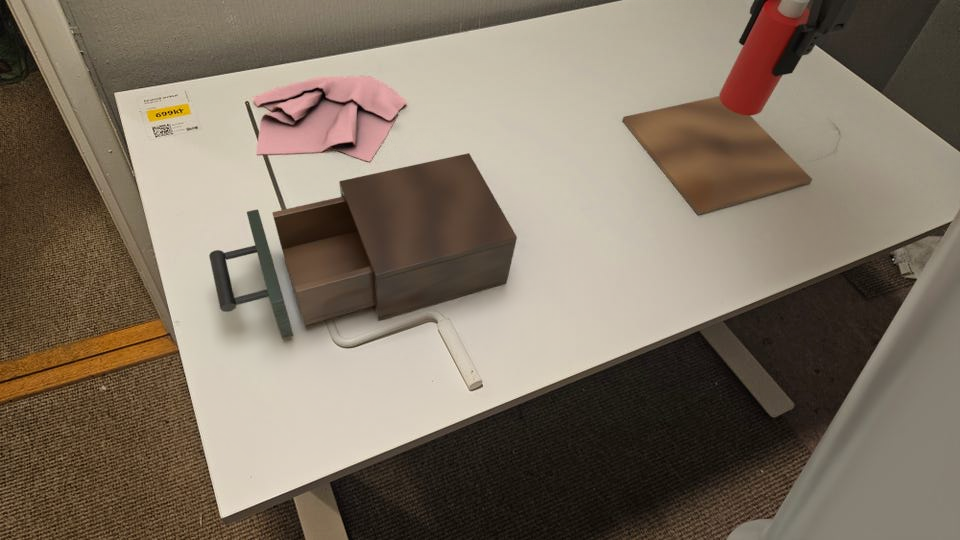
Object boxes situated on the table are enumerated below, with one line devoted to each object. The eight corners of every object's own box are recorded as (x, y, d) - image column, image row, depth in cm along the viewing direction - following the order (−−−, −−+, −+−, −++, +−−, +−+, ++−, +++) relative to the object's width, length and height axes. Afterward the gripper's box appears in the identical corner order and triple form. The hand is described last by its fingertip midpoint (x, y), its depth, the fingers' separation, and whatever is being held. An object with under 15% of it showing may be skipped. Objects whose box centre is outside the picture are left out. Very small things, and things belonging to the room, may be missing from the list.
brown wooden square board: (809, 183, 88) (812, 179, 87) (697, 215, 82) (700, 211, 81) (727, 98, 98) (729, 93, 97) (622, 120, 92) (623, 116, 91)
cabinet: (378, 321, 67) (375, 275, 60) (345, 231, 74) (339, 180, 67) (506, 283, 72) (517, 237, 65) (463, 202, 79) (469, 152, 72)
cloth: (424, 99, 90) (424, 85, 88) (343, 192, 78) (342, 178, 76) (307, 54, 94) (305, 40, 92) (212, 136, 81) (207, 121, 80)
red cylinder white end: (772, 111, 82) (834, 6, 70) (736, 119, 80) (795, 13, 68) (744, 84, 85) (800, -21, 73) (710, 91, 83) (761, -15, 71)
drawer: (234, 353, 62) (218, 318, 57) (215, 261, 69) (198, 221, 63) (414, 301, 68) (414, 265, 63) (380, 221, 74) (378, 182, 69)
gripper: (784, -188, 62) (697, 19, 81) (926, -106, 53) (791, 109, 71) (838, -190, 65) (742, 12, 83) (984, -112, 55) (838, 98, 73)
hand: (764, 56), depth 77 cm, fingers closed on red cylinder white end, 6 cm apart
